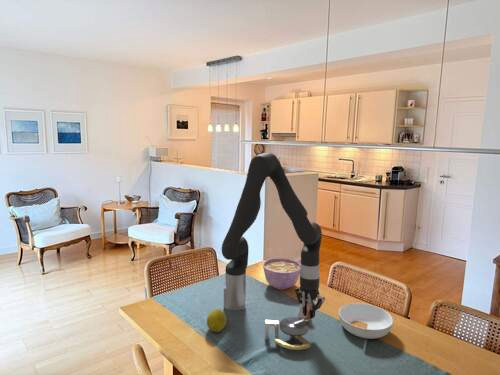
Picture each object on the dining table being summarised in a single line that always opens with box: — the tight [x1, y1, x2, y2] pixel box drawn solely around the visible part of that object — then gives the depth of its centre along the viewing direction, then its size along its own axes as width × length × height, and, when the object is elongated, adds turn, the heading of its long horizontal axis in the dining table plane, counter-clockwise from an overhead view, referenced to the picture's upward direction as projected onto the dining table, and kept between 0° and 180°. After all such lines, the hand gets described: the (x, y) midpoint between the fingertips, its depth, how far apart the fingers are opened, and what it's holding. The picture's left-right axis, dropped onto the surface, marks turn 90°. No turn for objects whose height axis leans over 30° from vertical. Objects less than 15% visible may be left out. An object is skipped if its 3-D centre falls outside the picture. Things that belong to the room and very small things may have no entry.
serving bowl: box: [338, 302, 394, 340], centre depth 139 cm, size 21×21×7 cm
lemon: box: [206, 308, 227, 333], centre depth 139 cm, size 11×8×8 cm
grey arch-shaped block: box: [264, 319, 280, 341], centre depth 131 cm, size 5×2×7 cm, turn 86°
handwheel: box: [273, 301, 313, 351], centre depth 128 cm, size 18×15×13 cm
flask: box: [296, 304, 306, 319], centre depth 148 cm, size 7×7×10 cm
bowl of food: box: [262, 257, 301, 290], centre depth 178 cm, size 20×20×12 cm
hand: (308, 316), depth 134 cm, fingers closed on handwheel, 2 cm apart
